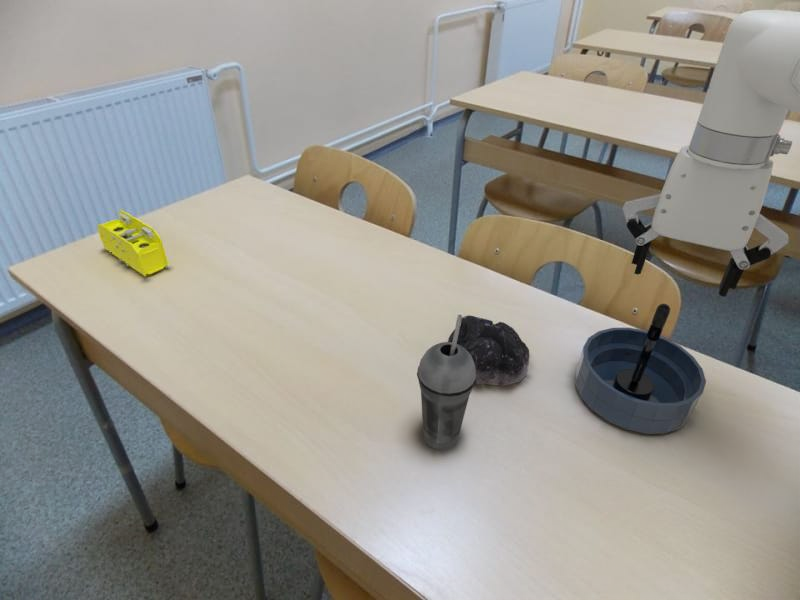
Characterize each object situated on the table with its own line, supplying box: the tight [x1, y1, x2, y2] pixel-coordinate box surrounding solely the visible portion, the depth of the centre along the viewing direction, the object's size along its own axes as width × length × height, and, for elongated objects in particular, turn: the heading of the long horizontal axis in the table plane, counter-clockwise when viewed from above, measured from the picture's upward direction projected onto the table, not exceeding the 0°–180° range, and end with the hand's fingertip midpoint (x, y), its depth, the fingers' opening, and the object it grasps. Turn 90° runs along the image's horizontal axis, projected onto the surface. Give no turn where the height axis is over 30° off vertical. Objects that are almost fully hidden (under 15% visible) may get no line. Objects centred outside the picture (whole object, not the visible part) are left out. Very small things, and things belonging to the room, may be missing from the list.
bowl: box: [574, 327, 707, 435], centre depth 75 cm, size 16×16×6 cm
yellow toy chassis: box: [96, 209, 170, 277], centre depth 102 cm, size 16×6×8 cm, turn 50°
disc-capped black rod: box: [613, 303, 671, 401], centre depth 72 cm, size 5×5×16 cm
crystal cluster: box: [447, 315, 530, 387], centre depth 79 cm, size 13×14×10 cm
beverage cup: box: [416, 314, 476, 451], centre depth 64 cm, size 7×7×20 cm
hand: (679, 279), depth 65 cm, fingers open, 9 cm apart
